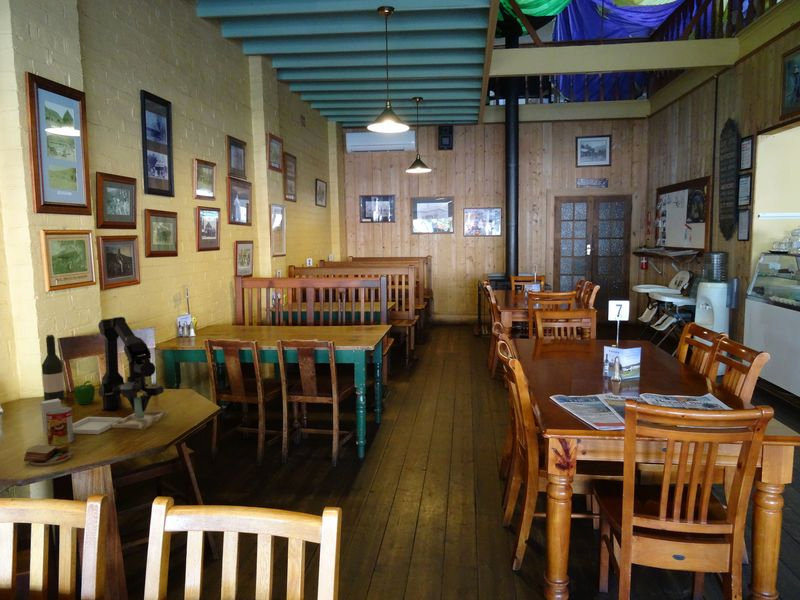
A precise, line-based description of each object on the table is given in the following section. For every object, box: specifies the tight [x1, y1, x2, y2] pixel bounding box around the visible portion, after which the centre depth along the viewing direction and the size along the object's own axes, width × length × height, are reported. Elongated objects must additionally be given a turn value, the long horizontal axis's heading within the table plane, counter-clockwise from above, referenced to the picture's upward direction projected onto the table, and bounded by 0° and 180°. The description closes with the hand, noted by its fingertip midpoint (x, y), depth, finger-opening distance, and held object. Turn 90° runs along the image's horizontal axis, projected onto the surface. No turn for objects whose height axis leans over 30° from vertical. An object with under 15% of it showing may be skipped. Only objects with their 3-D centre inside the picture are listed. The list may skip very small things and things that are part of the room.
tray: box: [111, 410, 167, 430], centre depth 227 cm, size 18×12×2 cm, turn 172°
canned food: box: [46, 406, 74, 447], centre depth 204 cm, size 8×8×12 cm
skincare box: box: [40, 399, 62, 434], centre depth 217 cm, size 6×4×12 cm
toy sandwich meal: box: [23, 443, 74, 467], centre depth 189 cm, size 12×14×5 cm
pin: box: [134, 396, 144, 419], centre depth 227 cm, size 3×3×8 cm
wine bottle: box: [41, 334, 66, 401], centre depth 261 cm, size 8×8×30 cm
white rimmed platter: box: [72, 416, 123, 435], centre depth 220 cm, size 15×15×2 cm
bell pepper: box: [73, 380, 96, 405], centre depth 255 cm, size 8×8×10 cm
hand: (139, 411), depth 227 cm, fingers closed on pin, 3 cm apart
